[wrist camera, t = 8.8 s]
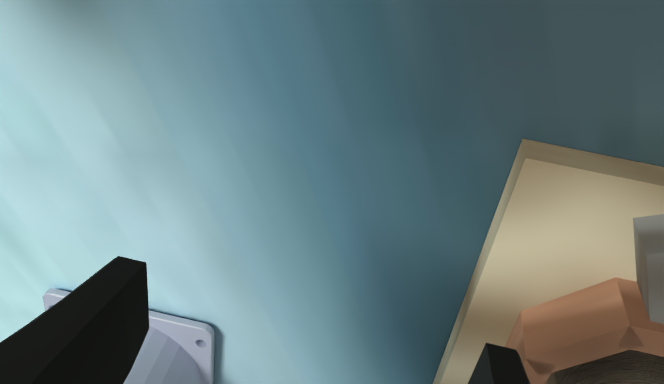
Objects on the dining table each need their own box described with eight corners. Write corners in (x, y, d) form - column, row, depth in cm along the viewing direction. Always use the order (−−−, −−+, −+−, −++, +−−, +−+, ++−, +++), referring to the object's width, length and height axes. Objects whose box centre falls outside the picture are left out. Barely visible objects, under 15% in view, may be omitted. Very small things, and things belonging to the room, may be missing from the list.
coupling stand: (673, 485, 28) (695, 563, 26) (417, 425, 29) (412, 493, 26) (910, 216, 19) (986, 293, 16) (522, 138, 20) (532, 199, 17)
